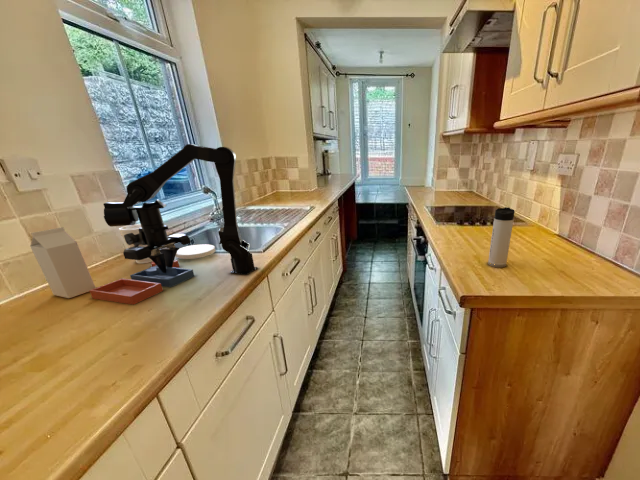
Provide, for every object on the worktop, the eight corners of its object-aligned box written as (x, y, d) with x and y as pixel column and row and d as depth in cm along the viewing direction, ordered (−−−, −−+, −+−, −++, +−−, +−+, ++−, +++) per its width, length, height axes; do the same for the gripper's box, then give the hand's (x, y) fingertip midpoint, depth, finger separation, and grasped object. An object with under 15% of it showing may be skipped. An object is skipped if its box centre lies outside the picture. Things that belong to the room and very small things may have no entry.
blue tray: (194, 276, 106) (192, 269, 105) (170, 287, 98) (168, 279, 97) (158, 272, 110) (156, 265, 109) (132, 282, 102) (129, 275, 101)
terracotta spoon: (183, 265, 116) (181, 259, 115) (172, 269, 112) (170, 263, 111) (160, 262, 119) (158, 256, 118) (148, 267, 115) (146, 260, 114)
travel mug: (508, 263, 116) (517, 208, 108) (503, 269, 111) (512, 211, 103) (490, 260, 119) (498, 206, 111) (485, 265, 114) (493, 209, 106)
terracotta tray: (163, 290, 96) (160, 283, 95) (133, 304, 88) (130, 296, 87) (124, 285, 100) (121, 278, 99) (92, 298, 91) (89, 290, 90)
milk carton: (96, 289, 97) (71, 228, 89) (69, 299, 91) (39, 234, 83) (81, 286, 99) (55, 226, 91) (53, 295, 93) (23, 232, 85)
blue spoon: (181, 272, 104) (179, 266, 103) (169, 278, 100) (167, 271, 99) (156, 270, 107) (153, 263, 106) (143, 274, 103) (140, 268, 102)
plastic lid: (182, 251, 131) (181, 245, 130) (219, 248, 134) (218, 243, 133) (171, 262, 119) (169, 256, 118) (211, 259, 122) (210, 253, 121)
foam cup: (129, 266, 115) (116, 231, 110) (132, 259, 123) (121, 225, 117) (160, 261, 120) (149, 227, 114) (161, 255, 127) (151, 222, 122)
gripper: (158, 216, 106) (171, 260, 113) (100, 229, 90) (119, 280, 96) (185, 217, 103) (197, 262, 110) (130, 231, 87) (148, 283, 94)
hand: (167, 271), depth 102 cm, fingers closed on blue spoon, 2 cm apart
